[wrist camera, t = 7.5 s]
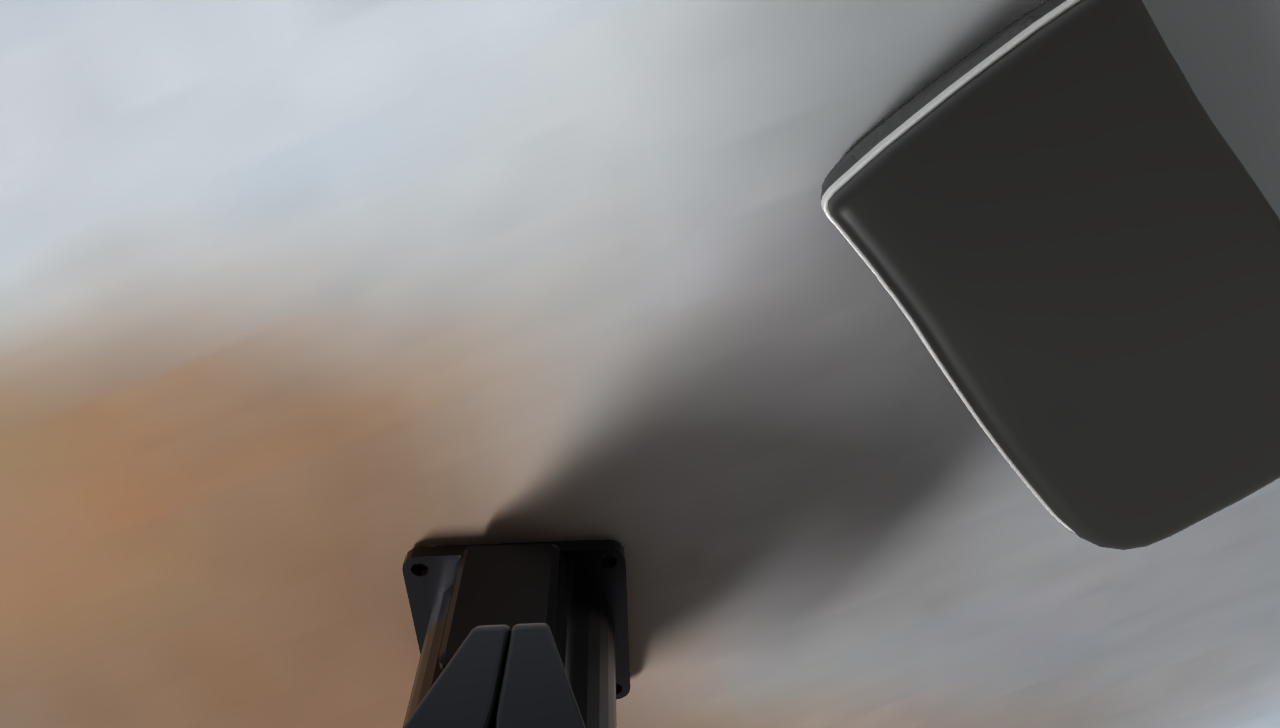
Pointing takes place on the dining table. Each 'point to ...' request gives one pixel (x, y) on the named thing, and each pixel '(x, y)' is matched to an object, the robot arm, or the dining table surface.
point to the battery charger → (1083, 268)
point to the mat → (1232, 74)
